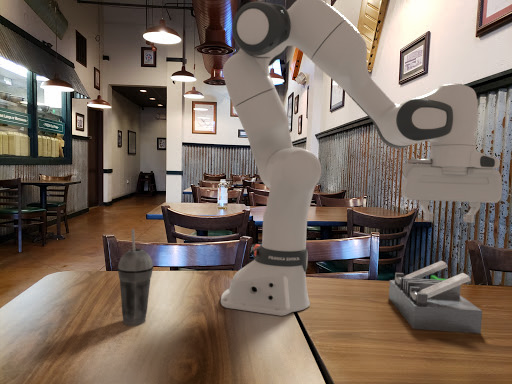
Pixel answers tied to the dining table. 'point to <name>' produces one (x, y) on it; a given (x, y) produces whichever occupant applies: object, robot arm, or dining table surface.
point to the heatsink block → (434, 307)
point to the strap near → (442, 286)
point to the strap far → (424, 271)
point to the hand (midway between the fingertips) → (448, 221)
